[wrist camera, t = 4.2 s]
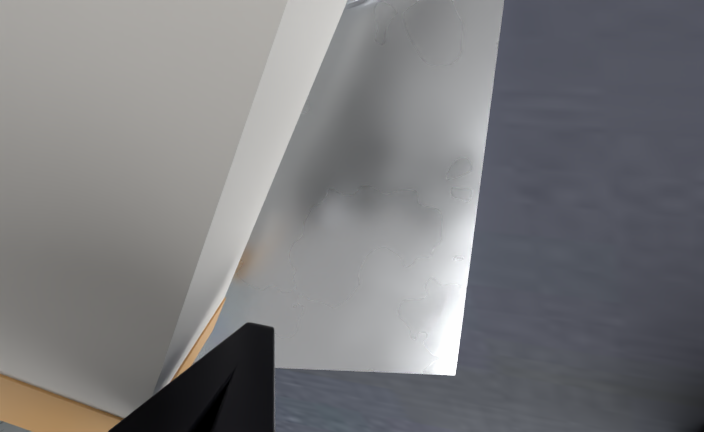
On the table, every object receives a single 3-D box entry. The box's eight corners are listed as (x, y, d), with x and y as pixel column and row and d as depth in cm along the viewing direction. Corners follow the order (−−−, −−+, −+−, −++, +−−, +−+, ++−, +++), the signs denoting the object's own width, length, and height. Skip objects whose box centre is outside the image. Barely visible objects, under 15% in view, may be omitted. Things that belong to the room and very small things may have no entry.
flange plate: (-407, -344, 7) (-714, -496, 5) (551, -537, 6) (652, -889, 3) (21, 335, 16) (-32, 377, 14) (449, 350, 14) (460, 401, 12)
